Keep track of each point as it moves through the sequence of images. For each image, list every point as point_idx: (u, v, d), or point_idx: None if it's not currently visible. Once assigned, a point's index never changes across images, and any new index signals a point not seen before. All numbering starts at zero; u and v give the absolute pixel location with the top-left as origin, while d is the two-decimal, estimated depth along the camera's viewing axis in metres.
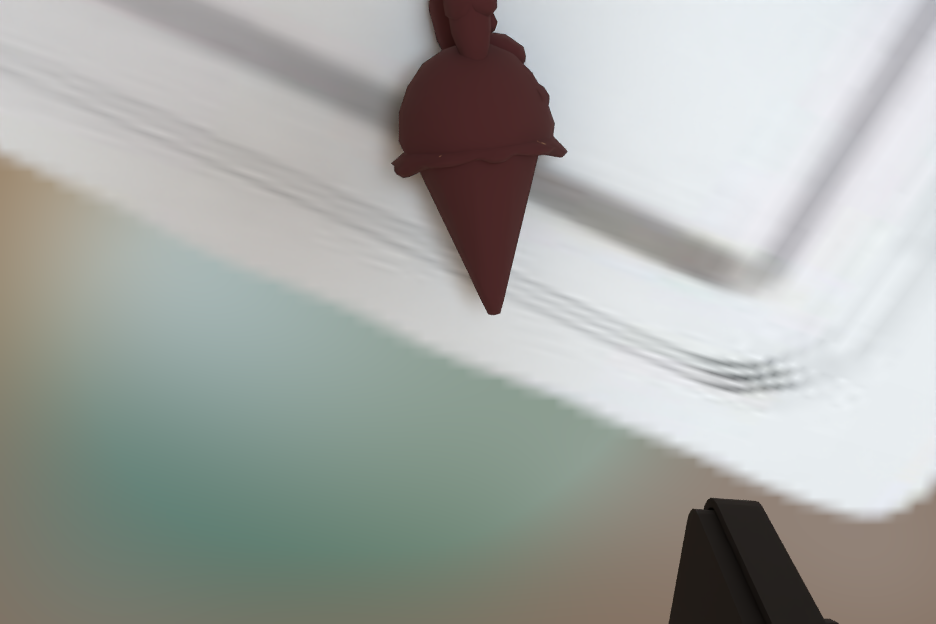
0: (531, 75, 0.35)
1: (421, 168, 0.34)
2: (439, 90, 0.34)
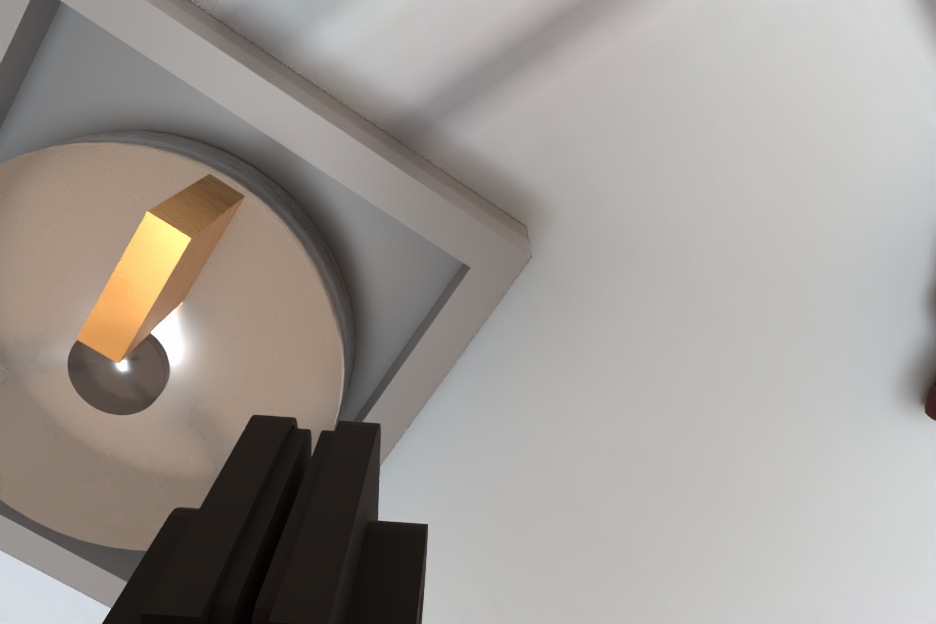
0: None
1: None
2: None
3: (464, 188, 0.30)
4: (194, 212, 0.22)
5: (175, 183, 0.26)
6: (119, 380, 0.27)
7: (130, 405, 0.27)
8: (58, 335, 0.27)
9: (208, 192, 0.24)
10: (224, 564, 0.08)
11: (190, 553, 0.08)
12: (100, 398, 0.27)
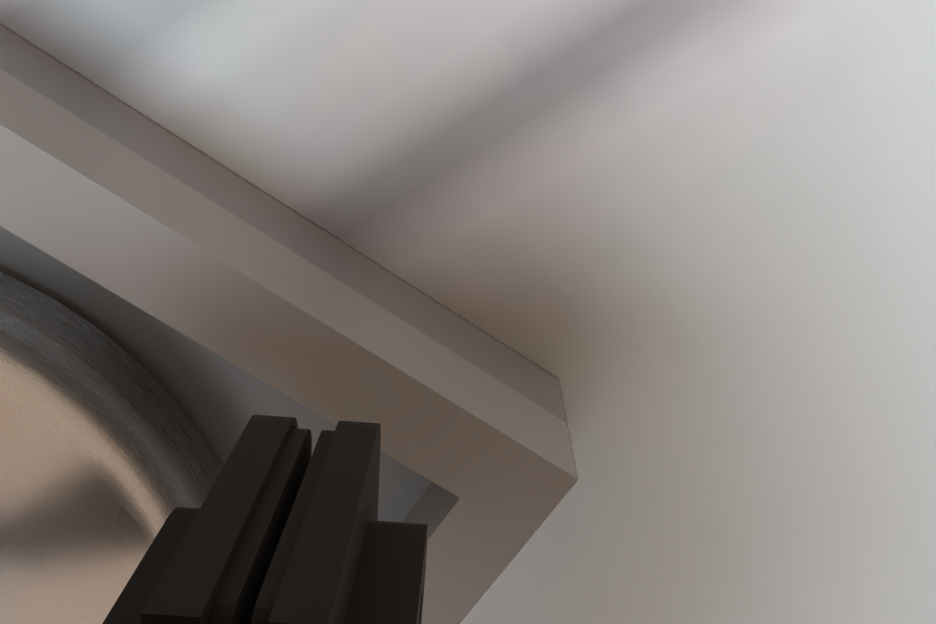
0: None
1: None
2: None
3: (450, 319, 0.17)
4: None
5: None
6: None
7: None
8: None
9: None
10: (225, 565, 0.08)
11: (191, 553, 0.08)
12: None
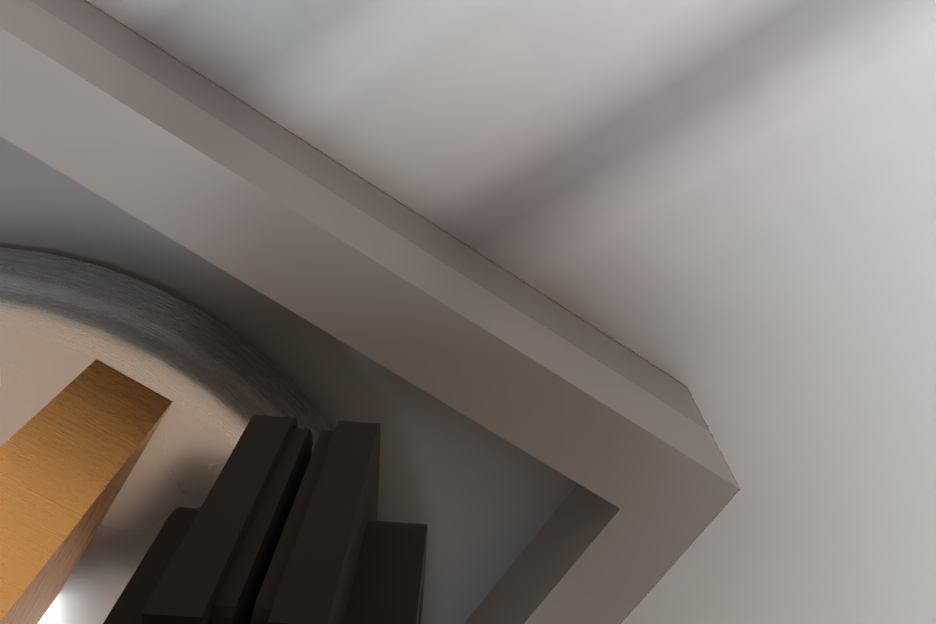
0: None
1: None
2: None
3: (584, 328, 0.17)
4: (22, 517, 0.09)
5: (27, 379, 0.12)
6: None
7: None
8: None
9: (80, 422, 0.11)
10: (226, 565, 0.08)
11: (191, 553, 0.08)
12: None
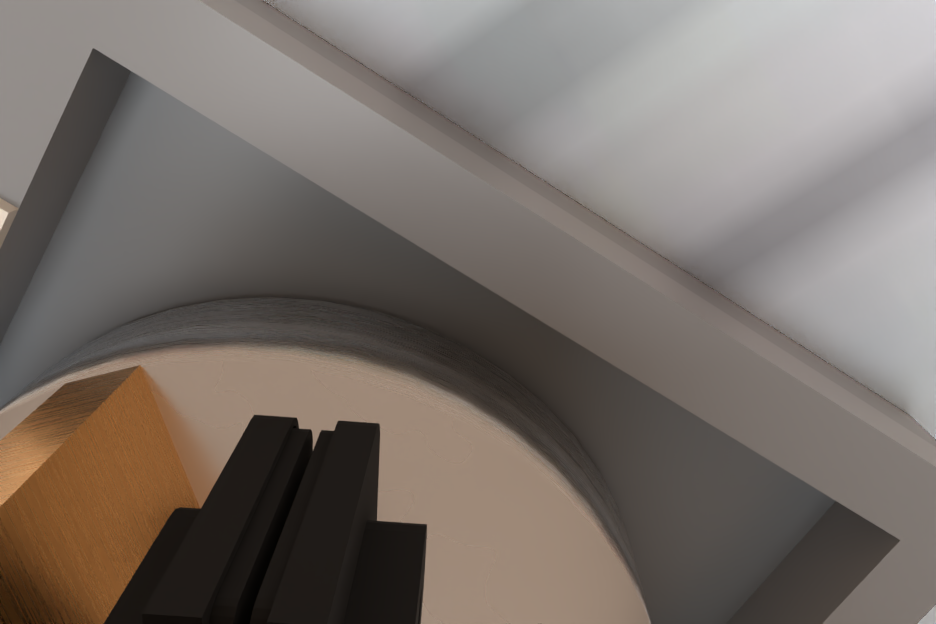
0: None
1: None
2: None
3: (820, 362, 0.18)
4: None
5: None
6: None
7: None
8: None
9: (46, 419, 0.11)
10: (226, 564, 0.08)
11: (192, 553, 0.08)
12: None
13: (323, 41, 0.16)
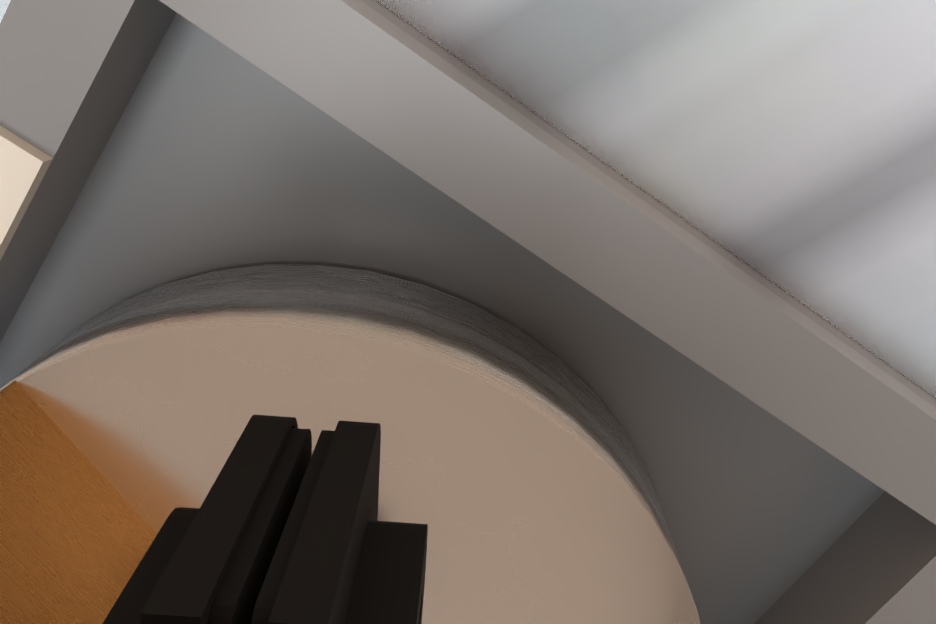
0: None
1: None
2: None
3: (867, 352, 0.17)
4: None
5: None
6: None
7: None
8: None
9: None
10: (225, 564, 0.08)
11: (191, 553, 0.08)
12: None
13: None
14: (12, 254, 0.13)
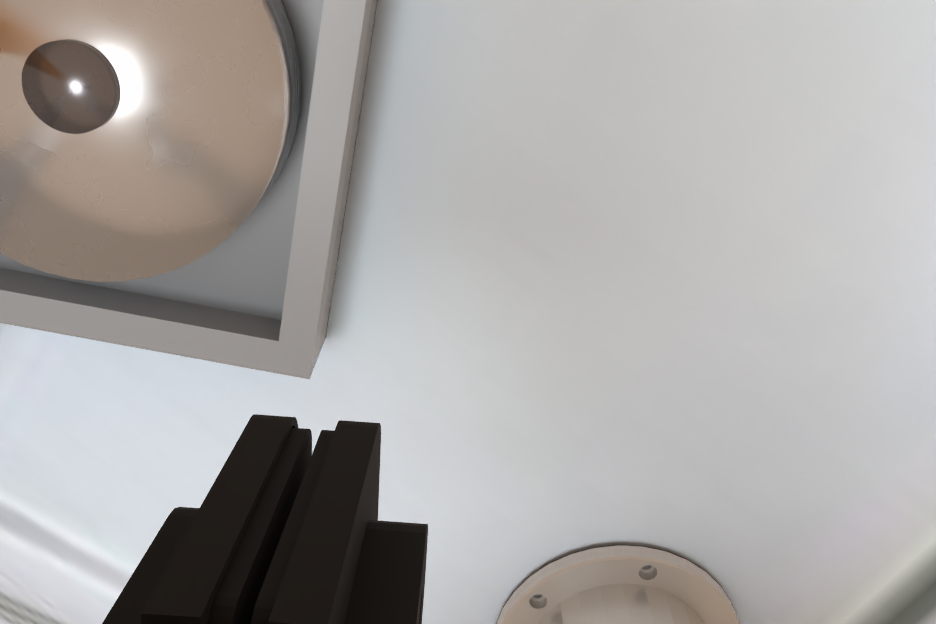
0: None
1: None
2: None
3: None
4: None
5: None
6: (75, 85, 0.28)
7: (100, 77, 0.28)
8: (57, 143, 0.30)
9: None
10: (225, 565, 0.08)
11: (190, 553, 0.08)
12: (98, 106, 0.29)
13: None
14: None
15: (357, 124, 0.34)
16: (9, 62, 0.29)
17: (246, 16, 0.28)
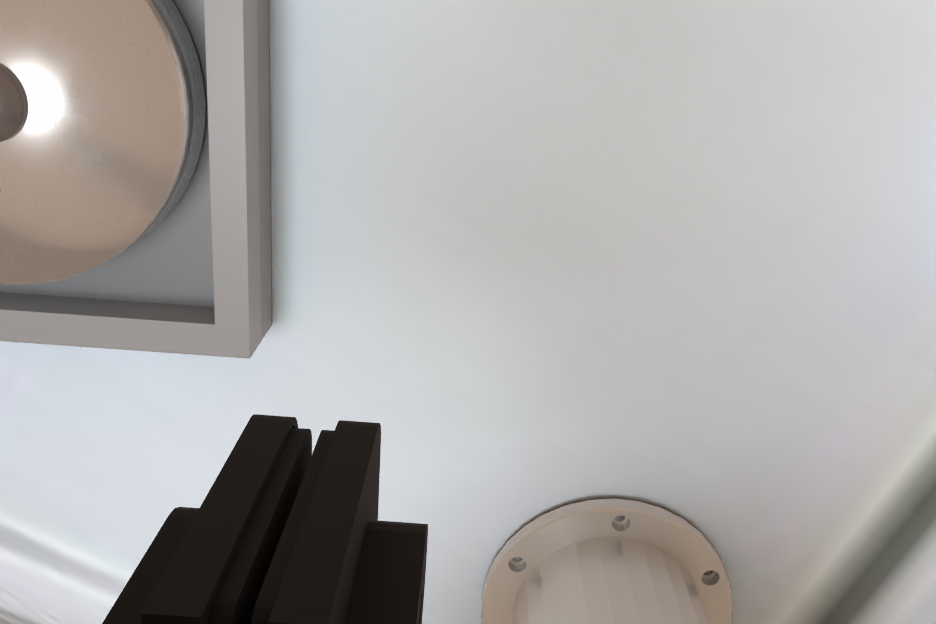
0: None
1: None
2: None
3: None
4: None
5: None
6: None
7: (5, 87, 0.30)
8: None
9: None
10: (223, 564, 0.08)
11: (191, 553, 0.08)
12: (7, 115, 0.31)
13: None
14: None
15: (268, 111, 0.36)
16: None
17: (130, 13, 0.30)
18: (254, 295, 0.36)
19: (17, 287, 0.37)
